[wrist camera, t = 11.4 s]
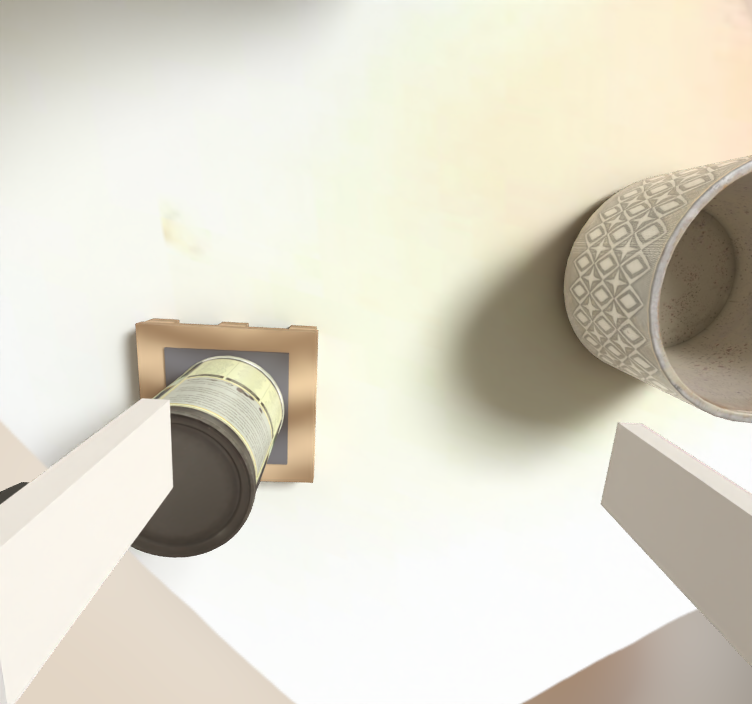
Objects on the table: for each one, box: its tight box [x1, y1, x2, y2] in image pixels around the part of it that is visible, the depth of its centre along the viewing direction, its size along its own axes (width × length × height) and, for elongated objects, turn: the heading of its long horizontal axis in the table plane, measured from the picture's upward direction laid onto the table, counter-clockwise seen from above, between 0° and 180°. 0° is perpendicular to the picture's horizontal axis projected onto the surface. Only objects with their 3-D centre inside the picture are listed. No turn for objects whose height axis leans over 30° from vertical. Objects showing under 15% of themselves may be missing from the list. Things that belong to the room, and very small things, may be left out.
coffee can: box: [131, 356, 284, 558], centre depth 35 cm, size 10×10×14 cm
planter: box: [564, 155, 752, 423], centre depth 38 cm, size 19×19×14 cm
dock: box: [135, 318, 318, 483], centre depth 44 cm, size 15×16×3 cm
